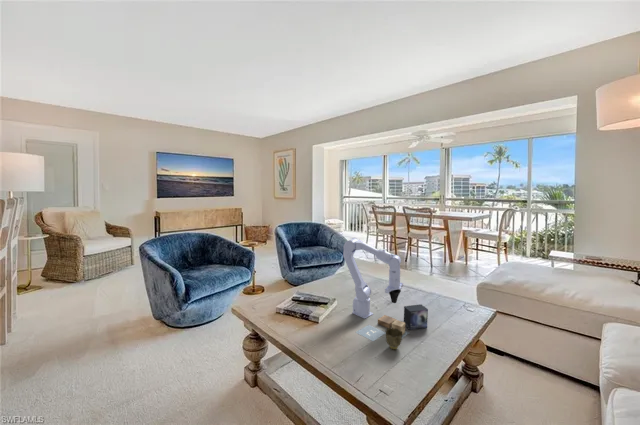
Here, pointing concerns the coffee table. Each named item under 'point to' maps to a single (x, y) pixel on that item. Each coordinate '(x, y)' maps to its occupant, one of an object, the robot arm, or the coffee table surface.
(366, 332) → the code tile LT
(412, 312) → the small box
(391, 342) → the cup
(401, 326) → the oak block
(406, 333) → the code tile
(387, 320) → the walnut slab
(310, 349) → the coffee table surface
